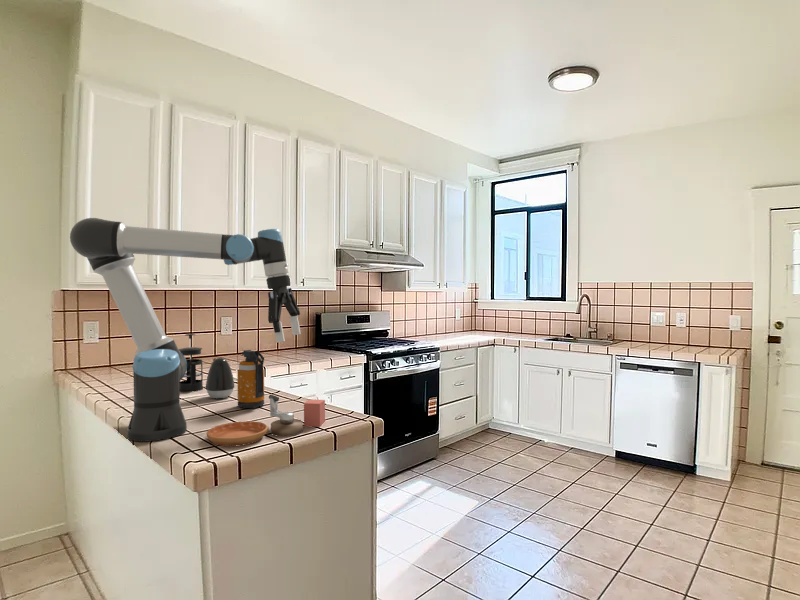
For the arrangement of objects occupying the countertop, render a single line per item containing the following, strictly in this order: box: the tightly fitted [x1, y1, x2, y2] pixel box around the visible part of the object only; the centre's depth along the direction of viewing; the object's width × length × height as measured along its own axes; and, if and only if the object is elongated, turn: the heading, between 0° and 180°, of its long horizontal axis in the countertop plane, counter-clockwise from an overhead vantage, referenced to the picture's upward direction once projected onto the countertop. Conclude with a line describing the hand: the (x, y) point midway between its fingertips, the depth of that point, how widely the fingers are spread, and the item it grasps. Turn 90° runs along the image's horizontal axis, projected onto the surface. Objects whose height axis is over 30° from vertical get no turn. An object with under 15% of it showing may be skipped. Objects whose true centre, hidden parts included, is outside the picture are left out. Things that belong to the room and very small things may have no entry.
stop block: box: [303, 398, 326, 428], centre depth 145 cm, size 5×5×7 cm
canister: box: [236, 349, 265, 409], centre depth 166 cm, size 9×11×20 cm
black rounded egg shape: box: [205, 357, 235, 400], centre depth 181 cm, size 10×10×15 cm
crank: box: [268, 394, 295, 424], centre depth 140 cm, size 12×4×6 cm, turn 42°
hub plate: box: [270, 418, 304, 437], centre depth 137 cm, size 9×9×3 cm
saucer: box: [206, 420, 269, 447], centre depth 131 cm, size 16×16×3 cm
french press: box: [178, 333, 204, 393], centre depth 194 cm, size 12×9×23 cm
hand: (289, 338), depth 159 cm, fingers open, 13 cm apart
